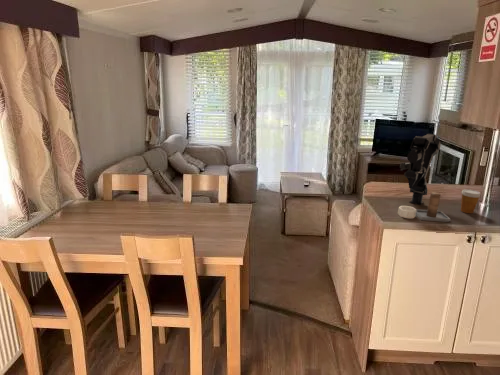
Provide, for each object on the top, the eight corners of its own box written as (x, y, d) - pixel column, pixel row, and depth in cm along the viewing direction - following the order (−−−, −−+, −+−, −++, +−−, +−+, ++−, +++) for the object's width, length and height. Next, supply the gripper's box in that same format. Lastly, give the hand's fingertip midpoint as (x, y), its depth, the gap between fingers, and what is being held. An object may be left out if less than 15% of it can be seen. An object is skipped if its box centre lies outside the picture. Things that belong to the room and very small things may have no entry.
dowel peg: (425, 213, 205) (429, 192, 202) (434, 214, 205) (439, 192, 201) (427, 216, 201) (432, 194, 197) (437, 217, 200) (441, 195, 196)
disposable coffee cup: (471, 209, 217) (476, 189, 214) (479, 215, 208) (484, 194, 205) (454, 208, 218) (458, 188, 215) (461, 213, 209) (466, 193, 206)
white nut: (401, 211, 209) (402, 204, 208) (416, 215, 204) (418, 208, 203) (395, 215, 203) (397, 208, 202) (411, 219, 198) (413, 212, 197)
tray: (413, 211, 209) (413, 209, 209) (440, 213, 208) (441, 210, 208) (420, 220, 198) (421, 217, 197) (450, 221, 197) (450, 219, 196)
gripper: (408, 154, 218) (404, 180, 223) (397, 159, 205) (392, 186, 209) (428, 158, 212) (423, 184, 216) (418, 163, 198) (413, 191, 203)
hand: (412, 186), depth 211 cm, fingers open, 9 cm apart
